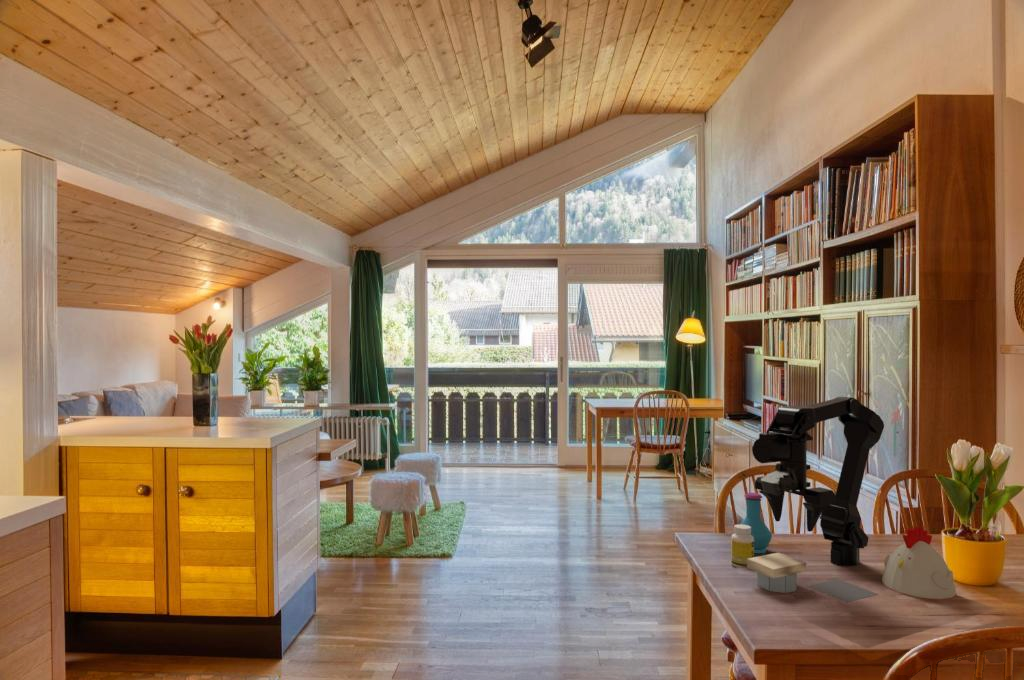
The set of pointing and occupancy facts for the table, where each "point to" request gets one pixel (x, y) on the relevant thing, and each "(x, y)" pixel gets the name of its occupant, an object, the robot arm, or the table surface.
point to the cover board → (776, 565)
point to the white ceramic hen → (918, 568)
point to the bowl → (777, 583)
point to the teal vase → (756, 523)
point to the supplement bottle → (741, 545)
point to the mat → (842, 590)
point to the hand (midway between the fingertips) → (793, 526)
